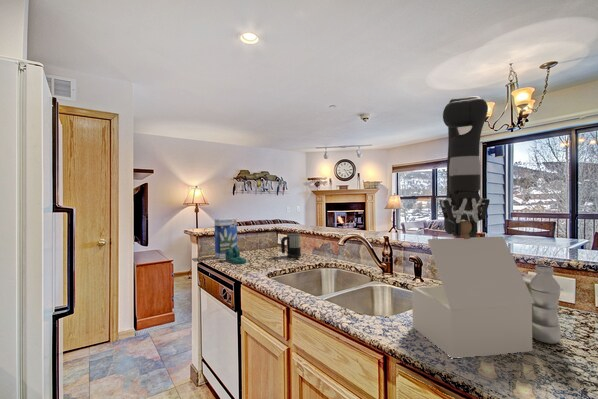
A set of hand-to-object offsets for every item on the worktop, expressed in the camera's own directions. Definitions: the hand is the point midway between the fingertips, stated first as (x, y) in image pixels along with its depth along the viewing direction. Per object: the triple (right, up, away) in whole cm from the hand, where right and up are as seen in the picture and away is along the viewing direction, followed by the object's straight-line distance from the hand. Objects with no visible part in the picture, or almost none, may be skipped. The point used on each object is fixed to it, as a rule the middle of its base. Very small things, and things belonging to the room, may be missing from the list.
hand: (464, 235), depth 82 cm
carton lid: (+1, -7, -3) cm, 7 cm away
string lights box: (-95, -29, +118) cm, 155 cm away
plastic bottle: (+20, -28, -3) cm, 35 cm away
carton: (+1, -28, 0) cm, 28 cm away
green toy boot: (-85, -29, +103) cm, 136 cm away
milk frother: (-49, -28, +112) cm, 126 cm away
